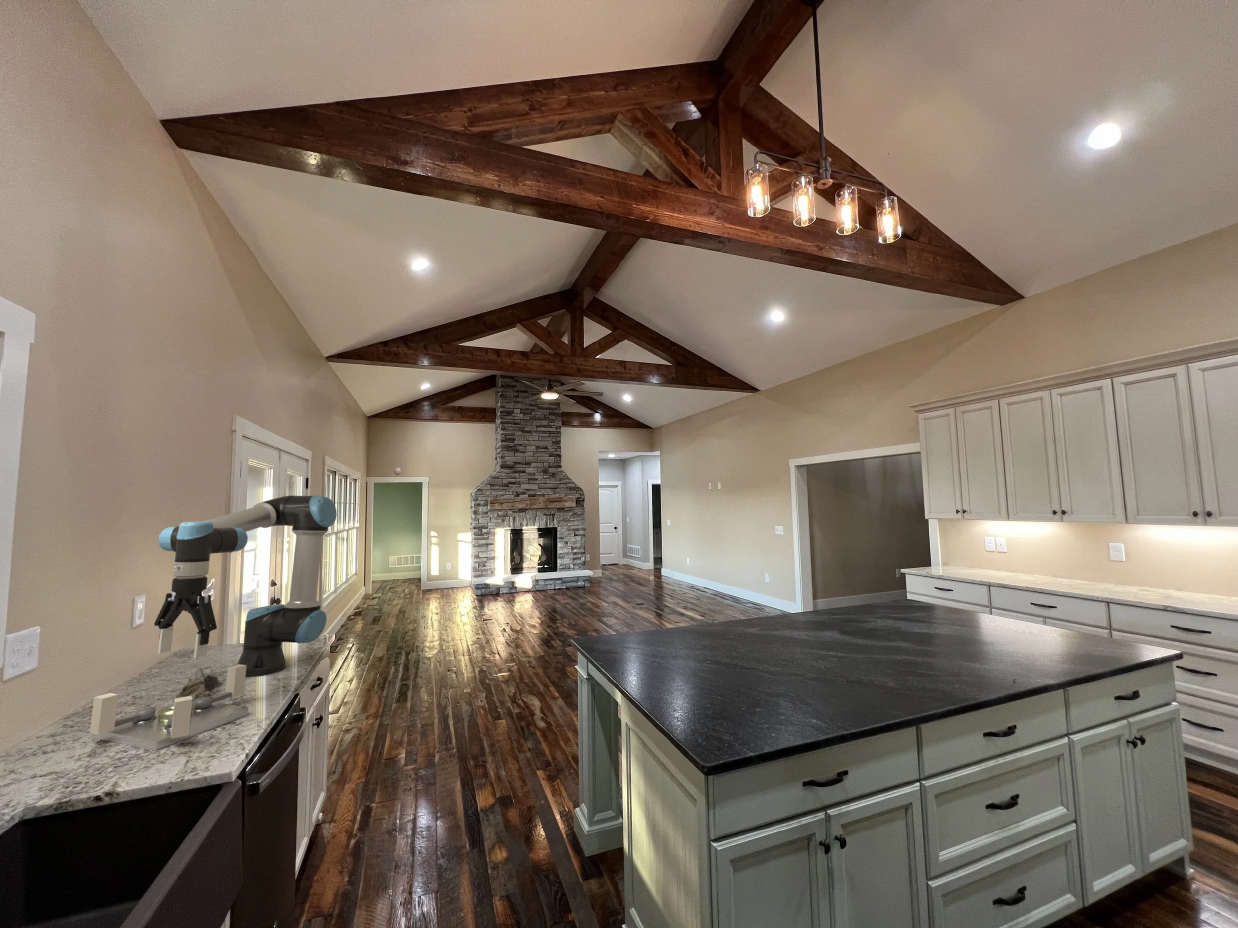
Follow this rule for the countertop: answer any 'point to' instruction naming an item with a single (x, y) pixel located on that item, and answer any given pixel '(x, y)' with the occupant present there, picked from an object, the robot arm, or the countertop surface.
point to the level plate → (159, 734)
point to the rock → (199, 685)
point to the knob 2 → (180, 717)
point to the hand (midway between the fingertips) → (182, 654)
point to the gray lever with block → (232, 687)
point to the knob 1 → (113, 714)
